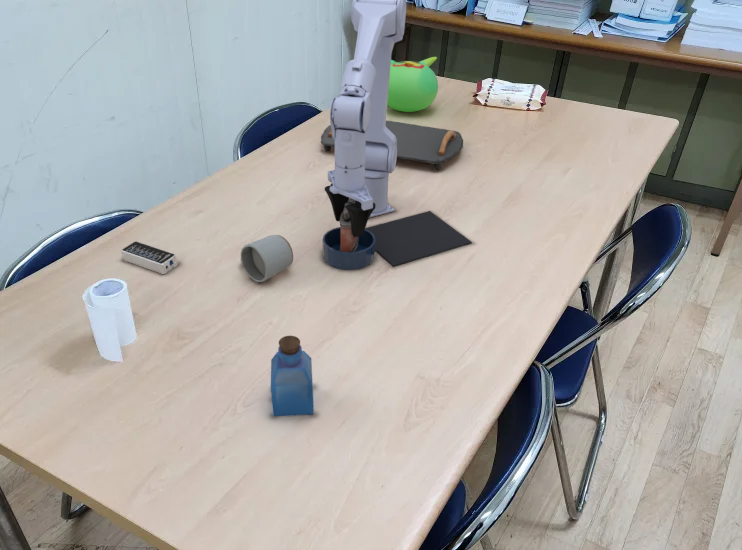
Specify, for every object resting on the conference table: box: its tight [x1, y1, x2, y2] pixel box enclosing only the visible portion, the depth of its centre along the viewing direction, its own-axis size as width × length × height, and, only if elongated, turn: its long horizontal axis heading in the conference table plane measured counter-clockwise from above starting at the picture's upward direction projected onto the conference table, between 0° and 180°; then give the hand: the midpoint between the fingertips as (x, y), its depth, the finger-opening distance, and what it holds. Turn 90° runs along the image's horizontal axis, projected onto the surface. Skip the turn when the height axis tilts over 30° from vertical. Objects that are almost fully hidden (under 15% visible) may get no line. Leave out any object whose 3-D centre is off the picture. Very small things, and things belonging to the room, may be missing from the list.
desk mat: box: [365, 210, 473, 268], centre depth 140 cm, size 16×20×1 cm
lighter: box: [339, 198, 358, 252], centre depth 130 cm, size 8×3×10 cm, turn 168°
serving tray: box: [320, 120, 464, 172], centre depth 175 cm, size 39×23×6 cm, turn 69°
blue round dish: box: [321, 226, 376, 271], centre depth 133 cm, size 11×11×4 cm
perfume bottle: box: [270, 335, 315, 417], centre depth 97 cm, size 6×6×12 cm
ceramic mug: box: [240, 234, 294, 283], centre depth 127 cm, size 11×8×8 cm
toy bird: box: [387, 56, 439, 113], centre depth 194 cm, size 18×17×15 cm
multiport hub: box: [120, 240, 178, 275], centre depth 130 cm, size 4×11×2 cm, turn 62°
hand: (349, 227), depth 130 cm, fingers closed on lighter, 6 cm apart
